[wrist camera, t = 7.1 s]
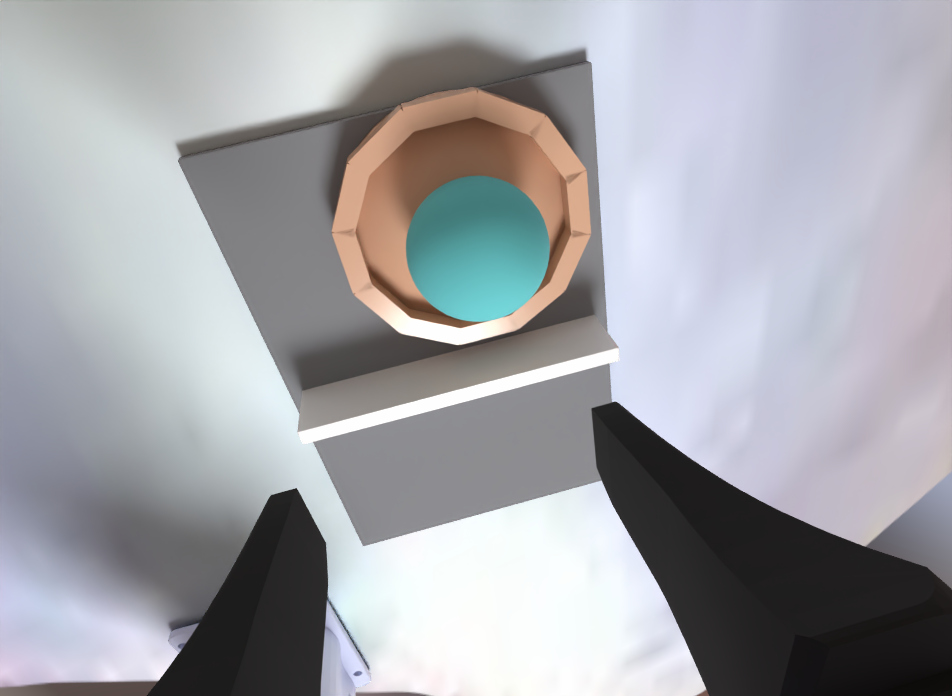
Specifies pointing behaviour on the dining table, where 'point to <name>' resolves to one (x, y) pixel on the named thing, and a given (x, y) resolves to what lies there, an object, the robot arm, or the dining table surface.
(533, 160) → the saucer
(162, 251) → the dining table surface
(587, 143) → the mat
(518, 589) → the dining table surface
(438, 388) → the wall
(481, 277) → the ball
